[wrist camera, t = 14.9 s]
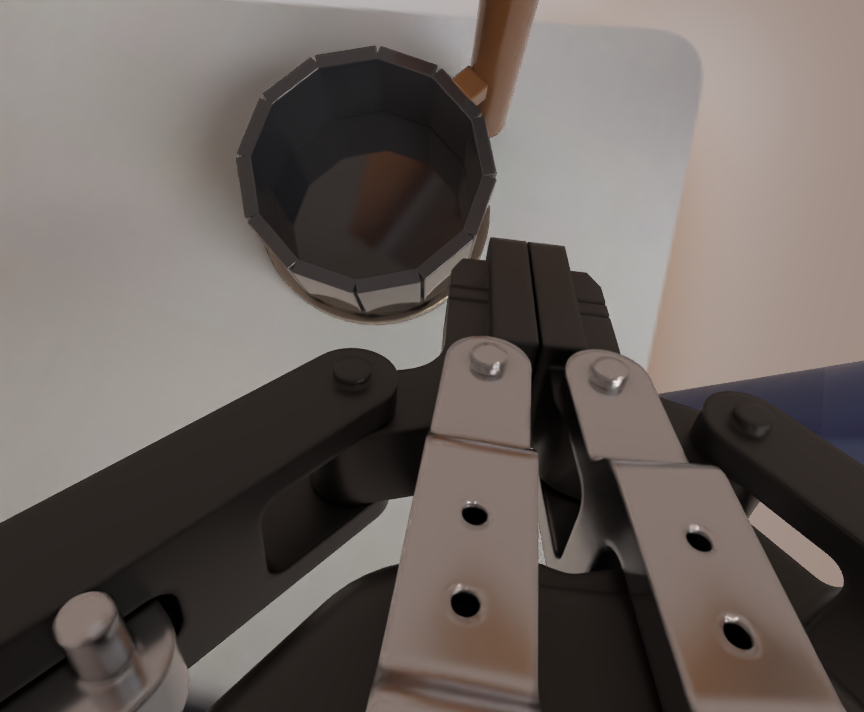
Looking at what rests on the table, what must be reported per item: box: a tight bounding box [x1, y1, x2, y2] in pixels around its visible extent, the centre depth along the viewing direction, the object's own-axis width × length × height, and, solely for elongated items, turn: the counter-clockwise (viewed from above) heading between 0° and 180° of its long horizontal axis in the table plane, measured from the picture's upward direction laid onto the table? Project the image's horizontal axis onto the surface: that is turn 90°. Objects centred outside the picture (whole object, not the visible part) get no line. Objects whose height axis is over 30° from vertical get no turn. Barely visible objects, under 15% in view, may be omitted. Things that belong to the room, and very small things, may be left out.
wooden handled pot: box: [236, 0, 539, 314], centre depth 22 cm, size 13×10×12 cm
